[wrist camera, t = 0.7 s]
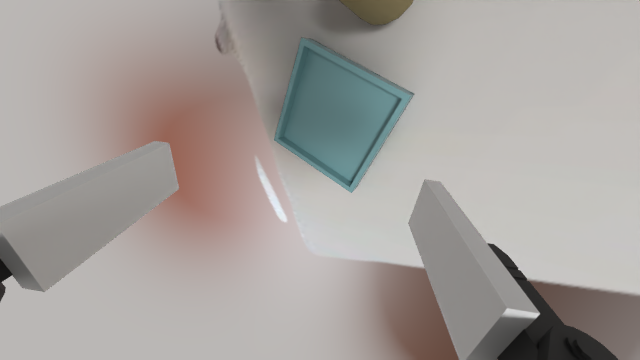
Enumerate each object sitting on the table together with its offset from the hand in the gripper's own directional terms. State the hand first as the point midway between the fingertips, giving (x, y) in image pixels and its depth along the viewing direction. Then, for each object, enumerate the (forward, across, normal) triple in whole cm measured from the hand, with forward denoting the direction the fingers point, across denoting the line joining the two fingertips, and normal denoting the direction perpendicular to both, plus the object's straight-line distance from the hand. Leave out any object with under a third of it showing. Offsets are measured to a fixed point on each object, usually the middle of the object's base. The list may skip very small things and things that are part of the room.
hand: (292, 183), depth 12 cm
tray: (+29, +1, -3) cm, 29 cm away
